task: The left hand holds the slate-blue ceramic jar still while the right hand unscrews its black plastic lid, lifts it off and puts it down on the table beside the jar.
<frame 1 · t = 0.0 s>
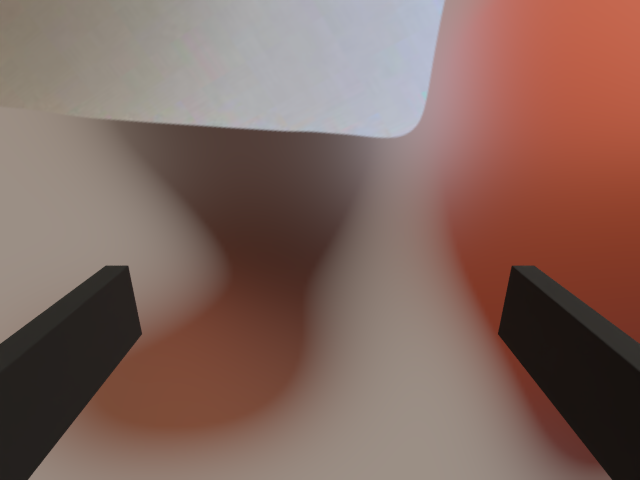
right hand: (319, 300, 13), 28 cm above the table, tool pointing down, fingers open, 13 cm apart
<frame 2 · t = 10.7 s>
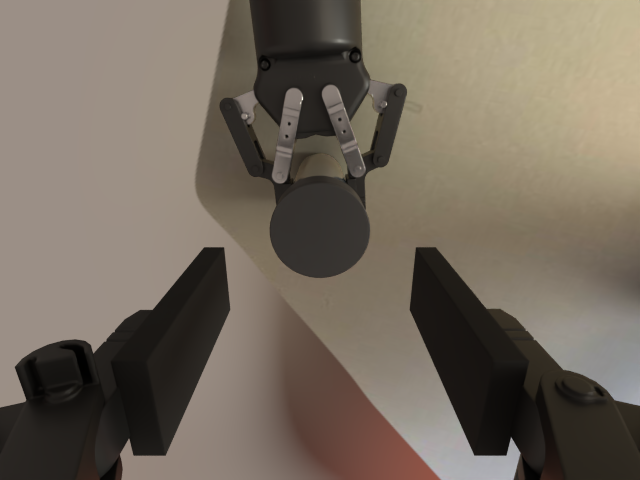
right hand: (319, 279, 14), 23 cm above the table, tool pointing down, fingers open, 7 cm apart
left hand: (322, 221, 30), fingers closed on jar, 4 cm apart
lid: (319, 230, 20), point 17 cm above the table, screwed on, not yet turned
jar: (319, 175, 35), on the table, touching left hand
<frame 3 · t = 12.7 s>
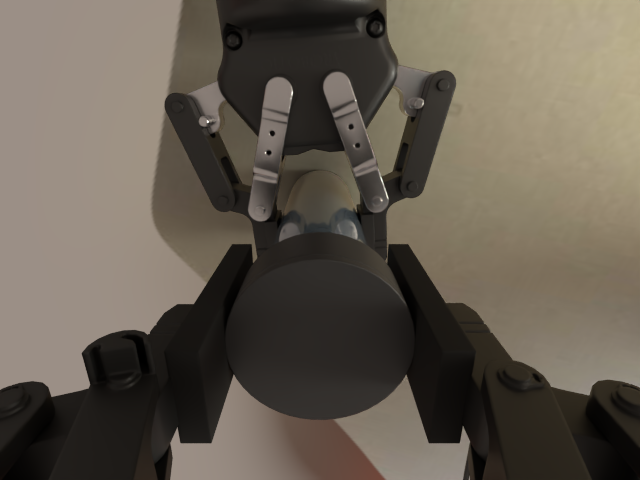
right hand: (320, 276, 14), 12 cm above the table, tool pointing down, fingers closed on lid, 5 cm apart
left hand: (324, 272, 21), fingers closed on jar, 4 cm apart
lid: (320, 339, 10), point 17 cm above the table, screwed on, not yet turned, touching right hand
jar: (320, 200, 26), on the table, touching left hand
when the right hand's fingers open (13 cm above the table, at t = 13.9 s): lid stays where it is, point 17 cm above the table.
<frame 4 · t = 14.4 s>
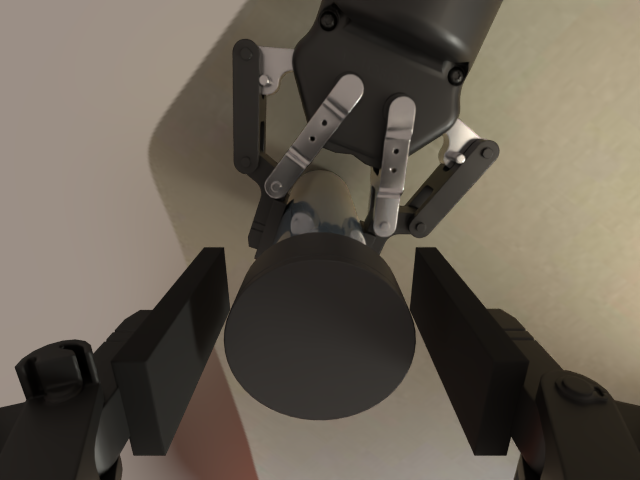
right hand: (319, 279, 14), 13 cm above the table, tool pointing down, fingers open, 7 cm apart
left hand: (304, 268, 21), fingers closed on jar, 4 cm apart
lid: (319, 340, 10), point 17 cm above the table, turned 71° so far, risen 0.2 cm, still on its thread
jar: (320, 199, 26), on the table, touching left hand
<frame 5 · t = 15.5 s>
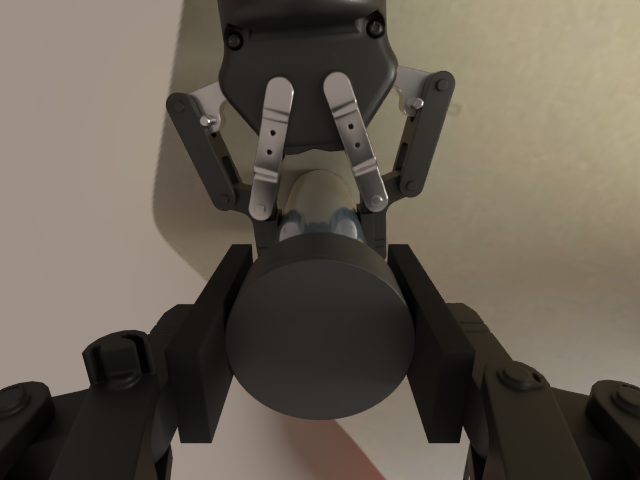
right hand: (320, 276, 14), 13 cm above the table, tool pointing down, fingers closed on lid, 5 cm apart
left hand: (324, 271, 21), fingers closed on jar, 4 cm apart
lid: (320, 339, 10), point 17 cm above the table, turned 71° so far, risen 0.2 cm, still on its thread, touching right hand
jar: (320, 199, 26), on the table, touching left hand
when the right hand's fingers open (0 cm above the table, at t = 22.0 s): lid drops 2 cm, point 2 cm above the table.
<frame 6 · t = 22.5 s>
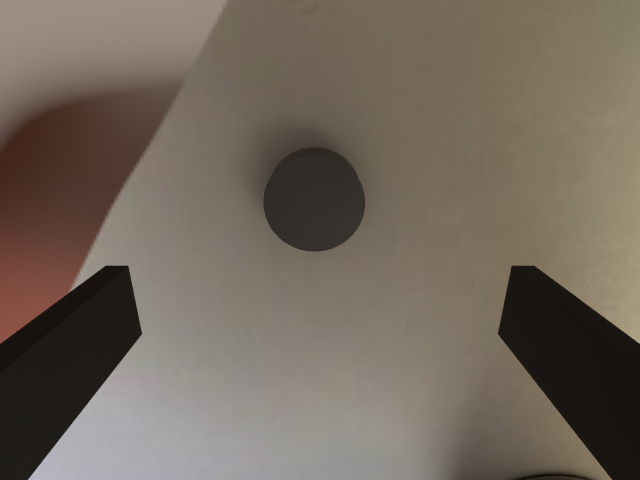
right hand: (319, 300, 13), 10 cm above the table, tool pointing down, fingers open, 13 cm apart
lid: (314, 203, 19), point 2 cm above the table, off its thread
when the left hand's fingers open (6 cm above the table, at t = 22.7 s): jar stays where it is, on the table.
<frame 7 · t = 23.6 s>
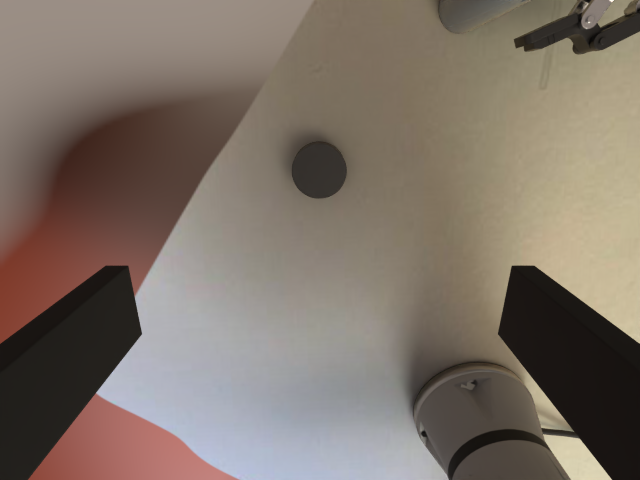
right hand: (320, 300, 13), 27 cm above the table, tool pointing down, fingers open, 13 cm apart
lid: (319, 171, 36), point 2 cm above the table, off its thread
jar: (463, 6, 33), on the table
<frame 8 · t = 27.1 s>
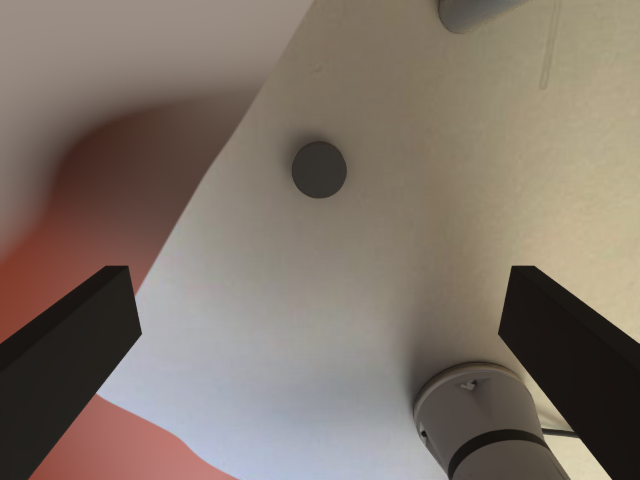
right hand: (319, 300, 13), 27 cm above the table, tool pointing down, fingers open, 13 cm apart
lid: (319, 171, 36), point 2 cm above the table, off its thread
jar: (463, 6, 33), on the table
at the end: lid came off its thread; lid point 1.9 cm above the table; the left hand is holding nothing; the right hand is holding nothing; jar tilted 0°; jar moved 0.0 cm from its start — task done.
